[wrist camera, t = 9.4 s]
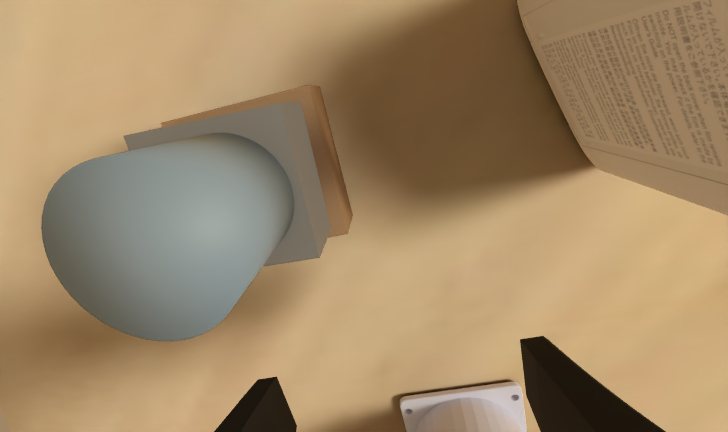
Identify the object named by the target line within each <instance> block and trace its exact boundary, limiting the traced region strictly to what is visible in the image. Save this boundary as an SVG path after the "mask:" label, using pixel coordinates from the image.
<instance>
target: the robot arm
mask: <svg viewBox="0 0 728 432" xmlns="http://www.w3.org/2000/svg"><path fill="white" fill-rule="evenodd" d="M520 343H521V352H522V361H523V369H524V378H525V387H526V396H527V398H528V401H529V403H530V406H531V408H532V411H533V413H534V416H535V418H536V421H537V423H538V426H539V428H540V431H541V432H665V431H664V430H663V429H661V428H660V427H658V426H657V425H656V424H654V423H653V422H651V421H650V420H649V419H647V418H646V417H644V416H643V415H641V414H640V413H639V412H637V411H636V410H635V409H633V408H632V407H631V406H629V405H628V404H627V403H625V402H624V401H623V400H621V399H620V398H619V397H617V396H616V395H615V394H614V393H612V392H611V391H610V390H608V389H607V388H606V387H604V386H603V385H602V384H601V383H599V382H598V381H597V380H596V379H594V378H593V377H592V376H591V375H589V374H588V373H587V372H586V371H584V370H583V369H582V368H581V367H580V366H578V365H577V364H576V363H575V362H574V361H572V360H571V359H570V358H569V357H568V356H566V355H565V354H564V353H563V352H562V351H561V350H559V349H558V348H557V347H556V346H555V345H554V344H553V343H551V342H550V341H549V340H548V339H547V338H545V337H544V336H540V337H534V338H527V339H520ZM512 395H514V396H512ZM400 409H401V413H402V416H403V420H404V424H405V427H406V431H407V432H527V428H526V419H525V411H524V403H523V394H522V389H521V387H520V385H519V384H518V383H517V382H505V383H498V384H491V385H483V386H476V387H469V388H461V389H454V390H447V391H440V392H432V393H425V394H418V395H411V396H405V397H402V398H401V399H400ZM407 409H409V410H407ZM296 428H297V425H296V423H295V420H294V418H293V416H292V413H291V411H290V408H289V406H288V403H287V401H286V398H285V396H284V394H283V391H282V389H281V386H280V384H279V381H278V379H277V377H272V378H266V379H259V380H257V381H256V383H255V384H254V385H253V386H252V387H251V388H250V389H249V391H248V392H247V393H246V394H245V395H244V397H243V398H242V399H241V400H240V401H239V403H238V404H237V405H236V406H235V407H234V409H233V410H232V411H231V412H230V413H229V415H228V416H227V417H226V418H225V419H224V421H223V422H222V423H221V424H220V425H219V427H218V428H217V429H216V430H215V431H214V432H296Z"/></svg>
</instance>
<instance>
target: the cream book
mask: <svg viewBox="0 0 728 432" xmlns="http://www.w3.org/2000/svg"><path fill="white" fill-rule="evenodd" d="M517 5H518V9H519V13H520V17H521V20H522V23H523V26H524V29H525V32H526V34H527V36H528V39H529V41H530V43H531V46H532V48H533V50H534V53H535V55H536V57H537V59H538V61H539V63H540V66H541V68H542V70H543V72H544V74H545V76H546V79H547V81H548V83H549V85H550V87H551V89H552V91H553V93H554V95H555V98H556V100H557V102H558V104H559V106H560V108H561V110H562V112H563V114H564V116H565V118H566V120H567V122H568V124H569V127H570V129H571V130H572V132H573V134H574V136H575V138H576V140H577V141H578V143H579V145H580V147H581V148H582V150H583V152H584V153H585V155H586V156H587V157H588V159H589V160H590V161H591V162H592V163H593V165H594V166H596V167H597V168H598V169H600V170H602V171H604V172H607V173H610V174H613V175H616V176H619V177H621V178H624V179H627V180H630V181H633V182H636V183H639V184H642V185H644V186H647V187H650V188H653V189H656V190H658V191H661V192H664V193H667V194H670V195H672V196H675V197H678V198H681V199H684V200H687V201H689V202H692V203H695V204H698V205H701V206H703V207H706V208H709V209H712V210H715V211H717V212H720V213H723V214H725V215H728V0H517Z"/></svg>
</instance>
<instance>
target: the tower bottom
mask: <svg viewBox="0 0 728 432" xmlns="http://www.w3.org/2000/svg"><path fill="white" fill-rule="evenodd" d="M287 102H301V105H302V110H303V114H304V118H305V122H306V126H307V130H308V134H309V139H310V143H311V147H312V151H313V155H314V159H315V163H316V168H317V172H318V176H319V180H320V184H321V188H322V192H323V197H324V201H325V205H326V209H327V213H328V217H329V221H330V226H331V230H330V233H329V235H328V238H329V237H334V236H339V235H344V234H348V232H349V228H350V224H351V220H352V216H353V214H352V210H351V206H350V202H349V199H348V195H347V191H346V187H345V183H344V179H343V175H342V171H341V168H340V164H339V160H338V156H337V152H336V148H335V144H334V140H333V136H332V133H331V129H330V125H329V121H328V117H327V113H326V109H325V105H324V102H323V98H322V94H321V90H320V87H319V86H311V85H306V86H303V87H299V88H295V89H291V90H287V91H283V92H279V93H276V94H272V95H268V96H264V97H260V98H256V99H252V100H248V101H245V102H241V103H237V104H233V105H229V106H225V107H221V108H218V109H214V110H210V111H206V112H202V113H198V114H194V115H190V116H187V117H183V118H179V119H175V120H171V121H167V122H163V123H161V125H162V127H168V126H173V125H178V124H182V123H187V122H192V121H197V120H201V119H206V118H211V117H216V116H220V115H225V114H230V113H234V112H239V111H244V110H249V109H253V108H258V107H263V106H268V105H272V104H277V103H287Z"/></svg>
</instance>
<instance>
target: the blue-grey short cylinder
mask: <svg viewBox="0 0 728 432" xmlns="http://www.w3.org/2000/svg"><path fill="white" fill-rule="evenodd" d="M293 214H294V195H293V190H292V186H291V183H290V181H289V178H288V176H287V174H286V172H285V170H284V169H283V167H282V166H281V165H280V163H279V162H278V161H277V159H276V158H275V157H274V156H273V155H272V154H271V153H270V152H269V151H267V150H266V149H265V148H264V147H262V146H261V145H259V144H258V143H256V142H254V141H252V140H250V139H248V138H245V137H243V136H240V135H236V134H231V133H211V134H205V135H201V136H196V137H191V138H187V139H182V140H177V141H173V142H168V143H164V144H159V145H154V146H150V147H145V148H140V149H136V150H131V151H127V152H122V153H117V154H113V155H108V156H103V157H99V158H94V159H91V160H88V161H85V162H83V163H80V164H79V165H77V166H75V167H73V168H71V169H70V170H69V171H67V172H66V173H65V174H64V175H62V176H61V178H60V179H59V180H58V181H57V182H56V183H55V184H54V186H53V188H52V189H51V191H50V193H49V194H48V197H47V199H46V202H45V205H44V209H43V214H42V238H43V243H44V247H45V252H46V254H47V257H48V260H49V262H50V265H51V267H52V269H53V271H54V273H55V275H56V276H57V278H58V279H59V281H60V282H61V284H62V285H63V287H64V288H65V289H66V290H67V292H68V293H69V294H70V295H71V297H72V298H73V299H74V300H75V301H76V302H77V303H78V304H79V305H80V306H82V307H83V308H84V309H85V310H86V311H88V312H89V313H90V314H91V315H93V316H94V317H96V318H97V319H98V320H100V321H101V322H103V323H105V324H107V325H108V326H110V327H112V328H114V329H116V330H119V331H121V332H123V333H126V334H129V335H132V336H135V337H139V338H143V339H147V340H155V341H178V340H185V339H189V338H193V337H196V336H199V335H201V334H204V333H205V332H207V331H209V330H211V329H213V328H214V327H215V326H217V325H218V324H219V323H220V322H221V321H222V320H223V319H224V318H225V317H226V316H227V315H228V314H229V312H230V311H231V310H232V308H233V307H234V306H235V304H236V303H237V301H238V300H239V299H240V297H241V296H242V294H243V293H244V292H245V290H246V289H247V288H248V286H249V285H250V283H251V282H252V281H253V279H254V278H255V277H256V275H257V274H258V272H259V271H260V270H261V268H262V267H263V266H264V264H265V263H266V261H267V260H268V259H269V257H270V256H271V254H272V253H273V252H274V250H275V249H276V248H277V246H278V245H279V243H280V242H281V241H282V239H283V238H284V236H285V235H286V233H287V232H288V230H289V228H290V226H291V223H292V219H293Z"/></svg>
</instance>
